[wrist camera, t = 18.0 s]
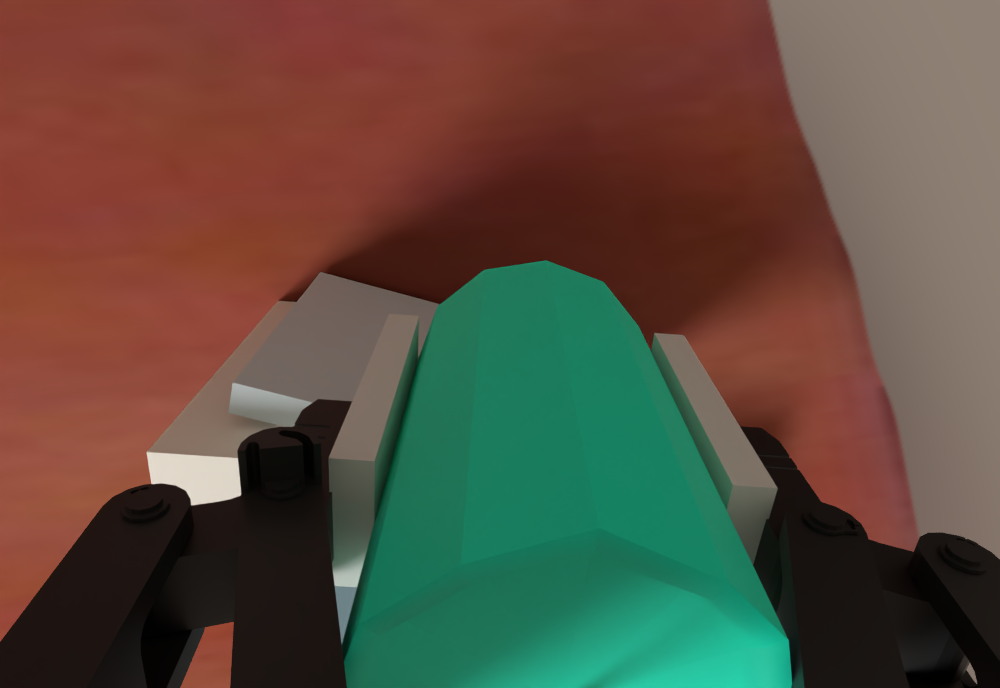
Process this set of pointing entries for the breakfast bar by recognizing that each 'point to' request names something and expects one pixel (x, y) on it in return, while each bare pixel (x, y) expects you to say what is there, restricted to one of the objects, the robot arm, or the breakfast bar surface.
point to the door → (320, 348)
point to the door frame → (212, 428)
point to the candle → (552, 513)
